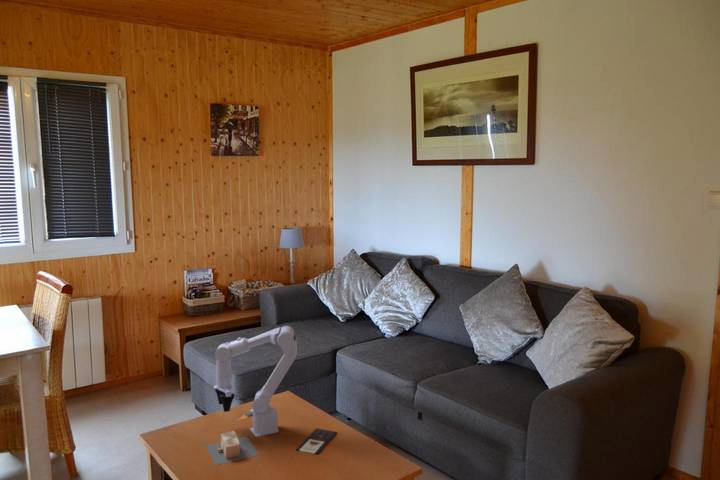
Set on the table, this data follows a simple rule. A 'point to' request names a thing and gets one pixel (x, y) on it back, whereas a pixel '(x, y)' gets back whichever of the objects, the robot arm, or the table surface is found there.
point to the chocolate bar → (316, 441)
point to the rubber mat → (245, 452)
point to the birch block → (230, 444)
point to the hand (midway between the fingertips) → (224, 407)
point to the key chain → (247, 414)
